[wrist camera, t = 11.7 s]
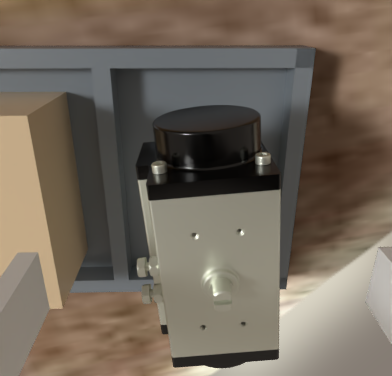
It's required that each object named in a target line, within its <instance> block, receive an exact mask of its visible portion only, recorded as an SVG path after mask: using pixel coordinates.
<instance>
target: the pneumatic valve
mask: <svg viewBox="0 0 392 376" xmlns="http://www.w3.org/2000/svg"><path fill="white" fill-rule="evenodd" d="M152 126H153V133H154V142H144V143H143V144H142V147H141V150H140V153H139V156H138V159H137V162H136V165H135V167H136V173H137V179H138V186H139V192H140V198H141V205H142V211H143V217H144V224H145V230H146V236H147V242H148V249H149V255H150V258H149V262H147V258H146V257H142V258H138V259H137V273H138V276H139V277H146V276H147V275H148V271H149V272H150V276H153V280H154V286H153V289H151V284H144V285H142V301H143V303H144V304H151V302H152V298H153V297H154V301H155V303H157V305H158V312H159V318H160V324H161V330H162V334H168V335H169V342H170V348H171V355H172V362H173V367H175V368H176V367H188V366H201V365H205V366H208V367H214V368H230V367H234V366H238V365H241V364H243V363H245V362H250V361H262V360H275V359H278V358H279V295H280V209H281V172H280V171H279V169H278V167H277V166H276V164H275V162H274V161H273V159H272V158H271V155H270V153H268V151H267V149H266V148H265V146H264V145H263V143H262V141H261V115H260V113H259V112H258V111H256V110H254V109H252V108H248V107H243V106H235V105H207V106H197V107H190V108H184V109H179V110H175V111H171V112H168V113H165V114H163V115H161V116H159V117H157V118H156V119H155V120H154V122H153V124H152Z"/></svg>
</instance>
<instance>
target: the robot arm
mask: <svg viewBox="0 0 392 376" xmlns="http://www.w3.org/2000/svg"><path fill="white" fill-rule="evenodd" d="M365 303H366V304H367V306H368V308H369V309H370V311H371V312H372V314H373V316H374V317H375V319H376V320H377V322H378V324H379V325H380V327H381V328H382V330H383V332H384V333H385V335H386V336H387V338H388V340H389V341H390V343H391V344H392V247H379V248H378V251H377V256H376V260H375V264H374V268H373V272H372V276H371V280H370V285H369V289H368V293H367V297H366V301H365ZM49 309H50V307H49V302H48V297H47V293H46V288H45V283H44V278H43V273H42V269H41V264H40V259H39V254H38V252H21V253H17V254H16V256H15V257H14V259H13V260H12V261H11V263H10V264H9V266H8V267H7V269H6V270H5V271H4V273H3V274H2V276H1V277H0V376H19V374H20V372H21V370H22V368H23V366H24V363H25V361H26V359H27V357H28V355H29V353H30V350H31V348H32V346H33V344H34V342H35V339H36V337H37V335H38V333H39V331H40V329H41V326H42V324H43V322H44V320H45V318H46V316H47V313H48V311H49Z"/></svg>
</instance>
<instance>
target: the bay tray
mask: <svg viewBox="0 0 392 376" xmlns="http://www.w3.org/2000/svg"><path fill="white" fill-rule="evenodd" d="M315 51H316V48H312V47H308V46H0V277H1V276H2V274H3V273H4V271H5V270H6V269H7V267H8V266H9V264H10V263H11V261H12V260H13V259H14V257H15V256H16V254H17V253H21V252H38V254H39V259H40V264H41V269H42V273H43V278H44V283H45V288H46V293H47V297H48V302H49V307H50V309H63V307H64V305H65V302H66V300H67V298H68V295H69V293H74V292H137V291H142V285H144V284H151V289H153V286H154V280H153V276H150V272H149V271H148V275H147V276H146V277H139V276H138V273H137V259H138V258H142V257H146V258H147V262H149V258H150V255H149V249H148V242H147V236H146V230H145V224H144V217H143V211H142V205H141V198H140V192H139V186H138V179H137V173H136V167H135V165H136V162H137V159H138V156H139V153H140V150H141V147H142V144H143V143H144V142H154V133H153V126H152V124H153V122H154V120H155V119H156V118H157V117H159V116H161V115H163V114H165V113H168V112H171V111H175V110H179V109H184V108H190V107H197V106H207V105H235V106H243V107H248V108H252V109H254V110H256V111H258V112H259V113H260V115H261V141H262V143H263V145H264V146H265V148H266V149H267V151H268V153H270V155H271V158H272V159H273V161H274V162H275V164H276V166H277V167H278V169H279V171H280V172H281V209H280V289H286V285H287V277H288V269H289V261H290V253H291V245H292V237H293V229H294V221H295V212H296V204H297V196H298V188H299V180H300V172H301V164H302V156H303V148H304V140H305V131H306V123H307V115H308V107H309V99H310V91H311V83H312V75H313V67H314V59H315Z"/></svg>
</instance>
